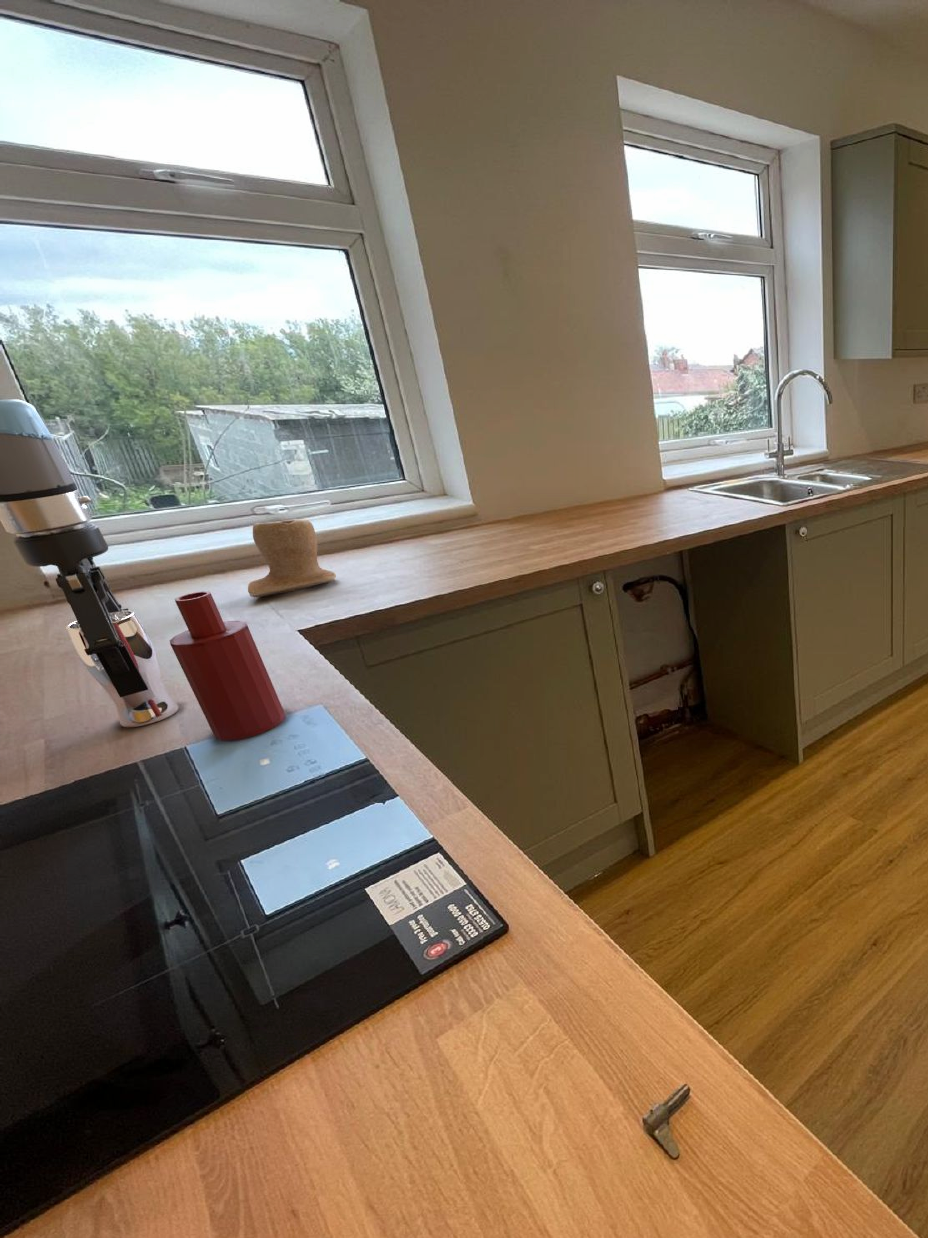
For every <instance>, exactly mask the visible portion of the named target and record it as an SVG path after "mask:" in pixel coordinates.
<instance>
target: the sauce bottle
mask: <svg viewBox="0 0 928 1238" xmlns="http://www.w3.org/2000/svg"><path fill="white" fill-rule="evenodd" d="M174 602H175V604H176V606H177V608H178V611H179V613H180V615H181V617H182V620H183V621H184V623H185V625H186V627H187V630H186V631H183V632H181V633H178V634H176V635H174V636H173V637H172V638H171V639H169V645H170V646H171V648H172V651H173V653H174V656H175V657H176V660H177V662H178V664H179V665H180V667H181V669H182V672H183V674H184V676H185V677H186V680H187V683H188V684H189V686H190V689H191V690H192V692H193V694H194V696H195V699H196V701H197V703H198V705H199V707H200V709H201V711H202V713H203V715H204V717H205V719H206V722H207V723H208V726H209V727H210V730H211V732H212V734H213V736H214V737H215V739H216V740H217V741H222V742H233V741H240V740H245V739H249V738H252V737H255V736H258V735H261V734H263V733H265V732H268V731H270V730H272V729H274V728H275V727H277V726H279V725H280V724H282V723H283V722H284V721H285V719H286V712H285V710H284V708H283V706H282V703H281V701H280V699H279V696H278V694H277V691H276V689H275V686H274V685H273V682H272V680H271V677H270V675H269V673H268V671H267V668H266V666H265V663H264V661H263V658H262V657H261V654H260V652H259V651H260V650H258V646H257V645H256V642H255V640H254V637H253V635H252V633H251V631H250V628H249V626H248V623H247V621H243V620H225V621H224V619H223V618H222V615H221V613H220V610H219V608H218V605H217V604H216V601H215V599H214V597H213V594H212V593H211V591H210V590H209V591H207V590H203V591H202V590H201V591H195V592H189V593H186V594H183V595H180V596H178V597H176V598H174Z"/></svg>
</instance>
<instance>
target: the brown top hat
mask: <svg viewBox="0 0 928 1238" xmlns="http://www.w3.org/2000/svg"><path fill="white" fill-rule="evenodd" d="M252 538H253V542H254V544H255V546H256V548H257V549H258V551H259V552H260V554H261V556H262V557H263V559H264V560H265V562H266V563H267V565H268V568H269V572H268V574H267V575H266V576H264V577H262V578H259V579H256V580H253V581H249V583H248V585H247V593H248V594H249V596H250V598H262V597H266V596H267V597H268V596H272V595H273V596H274V595H279V594H283V593H288V592H292V591H298V590H301V589H306V588H309V587H314V586H317V585H320V584H324V583H328V582H331V581H333V580H335V578H336V576H337V575H336V573H335V572H334V571H331V570H327V569H323V567H320V565H319V562H318V561H319V560H318V537H317V534H316V532H315V527H314V524H313V523H312V522H311V520H310V521H309V519H306V518H305V519H304V518H297V519H288V520H286V519H285V520H279V521H269V522H267V521H266V522H256V523H254V524H253V525H252Z"/></svg>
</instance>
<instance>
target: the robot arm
mask: <svg viewBox="0 0 928 1238" xmlns="http://www.w3.org/2000/svg"><path fill="white" fill-rule="evenodd" d="M80 493H81V492H80V490H79V489H78V486H77V484H76V482H75V480H74V478H73V476H72V474H71V471H70V470H69V468H68V466H67V464H66V462H65V459H64V458H63V456H62V454H61V451H60V449H59V447H58V446H57V444H56V442H55V439H54V438H53V436H52V434H51V433H50V431H49V429H48V427H47V426H46V424H45V422H44V421H43V419H42V417H41V416H40V414H39V412H38V410H37V409H36V407H35V406H34V405H33V404H31V403H29V402H27V401H25V400H22V399H16V398H11V399H9V398H8V399H0V522H1V524H2V526H3V528H4V530H5V532H6V533H9V534H11V535H16V536H14V537H13V539H12V543H13V545H14V546H15V547H16V550H17V551H18V553H19V554H20V557H22V560H23V561H24V563H25V564H26V565H28V566H30V567H35V568H36V567H37V568H40V567H48V566H54V567H57V570H58V572H59V573H57V574H56V578H55V582H56V584H57V586H58V588H59V589H60V590H61V591H62V592H63V594H64V597H65V599H66V601H67V603H68V605H69V606H70V609H71V610H72V613H73V614H74V617H75V619H76V621H78V623H79V625H80V627H81V630H82V632H83V634H84V636H85V638H86V640H87V643H88V645H89V648H88V649H84V650H85V652H86V654H87V655H92V654H96V655H97V657H98V659H99V660H100V662H101V664H102V666H103V668H104V669H105V671H106V673H107V675H108V676H109V678H110V680H111V682H112V684H113V685H114V687H115V689H116V691H117V693H118V694H119V696H120V697H124V696H127V695H131V694H135V693H138V692H142V691H145V690H148V687H147V685H146V683H145V681H144V679H143V678H142V676H141V674H140V672H139V670H138V668H137V666H136V665H135V663H134V661H133V659H132V657H131V655H130V653H129V651H128V650H127V648H126V646H125V644H123V643H122V641H120V639H119V636H118V634H117V631H116V629H115V627H114V624H113V622H112V620H111V617H110V615H109V612H113V611H122V610H129V608H127V607H126V608H123V606H122V604H120V602H119V601H118V600H117V598H116V597H115V595H114V593H113V591H112V589H111V588H110V586H109V584H108V582H107V579H106V578H105V574H104V572H103V569H102V568H101V566H97V565H96V563H95V561H94V558H95V557H98V556H101V555H103V554H105V553H106V552H108V551H109V545H108V543H107V541H106V539H105V538H104V535H103V534H102V531H101V530H100V528H99V525H96V524H95V523H90V521H91V520H92V519H93V515H92V513H91V512H90V509H89V507H88V506H87V505H89V504H91V503H92V499H91V498H90V497H89V496H88V495H82V496H79V495H80ZM106 638H110V639H107V640H102V639H106ZM99 640H102V641H99ZM122 644H123V645H122Z"/></svg>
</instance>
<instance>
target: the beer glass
mask: <svg viewBox="0 0 928 1238" xmlns="http://www.w3.org/2000/svg"><path fill="white" fill-rule="evenodd" d="M109 615H110V617H111V620H112V622H113V624H114V627H115V629H116V631H117V634H118V636H119V639H120V641H122V643H123V644H125V646H126V648H127V650H128V651H129V653H130V655H131V657H132V659H133V661H134V663H135V665H136V666H137V668H138V670H139V672H140V674H141V676H142V678H143V679H144V681H145V683H146V685H147V687H148V690H145V691H142V692H138V693H135V694H131V695H127V696H124V697H120V696H119V694H118V693H117V691H116V689H115V687H114V685H113V684H112V682H111V680H110V678H109V676H108V675H107V673H106V671H105V669H104V668H103V666H102V664H101V662H100V660H99V659H98V657H97V655H96V654H92V655H87V654H86V652H85V650H84V649H88V648H89V645H88V643H87V640H86V638H85V636H84V634H83V632H82V630H81V627H80V625H79V623H78V621H77V620H74V621H72V622H70V623H69V624H67V625H66V627H65V629H66V631H67V633H68V636H69V638H70V640H71V643H72V645H73V647H74V650H75V652H76V653H77V656H78V657H79V658H78V659H80V661H81V662H82V664H83V666H84V667H85V669H86V670H87V671H88V672H89V674H90V676H92V677H93V679H94V680H95V682H97V684H99V685H100V687H101V688H102V689H103V690H104V691H105V692H106V693H107V695H108V696H109V698H110V699H111V701H112V702H113V705H114V706H115V708H116V712H117V716H118V720H119V724H120V725H121V727H124V728H138V727H143V726H147V725H151V724H155V723H158V722H160V721H163V720H165V719H167V718H170V717H172V716H173V715H174V714H175V713H177V712H178V710H179V709H180V707H179V705H178V703H177V702H176V701H175V700H174V699H173V697H172V696H171V695H170V694H169V692H168V691H167V689H166V687H165V685H164V682H163V680H162V675H161V671H160V667H159V663H158V662H159V661H158V657H157V653H156V651H155V648H154V645H153V643H152V640H151V638H150V637H149V635H148V633H147V631H146V629H145V628H144V626H143V624H142V623H141V621H140V619H139V618H138V616H137V614H136V612H135V611H133V610H130V609H128V610H123V609H122V611H113V612H109ZM107 639H110V638H106V639H102V640H107ZM102 640H99V641H102ZM123 644H122V645H123Z"/></svg>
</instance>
